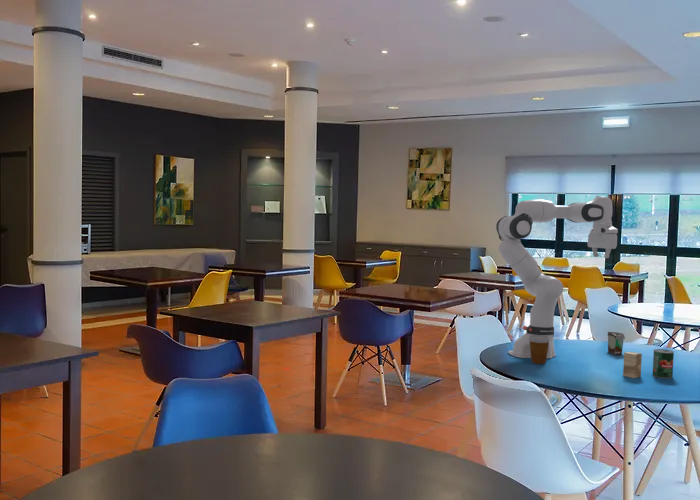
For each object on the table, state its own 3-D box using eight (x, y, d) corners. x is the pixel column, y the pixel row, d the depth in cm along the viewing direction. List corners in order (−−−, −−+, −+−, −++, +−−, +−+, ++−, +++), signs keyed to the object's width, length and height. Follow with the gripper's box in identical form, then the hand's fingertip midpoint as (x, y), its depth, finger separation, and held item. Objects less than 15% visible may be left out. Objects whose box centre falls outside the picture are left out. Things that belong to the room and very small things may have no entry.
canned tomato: (666, 379, 289) (667, 353, 289) (648, 375, 296) (649, 350, 295) (676, 377, 294) (677, 351, 294) (658, 373, 300) (659, 348, 300)
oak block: (633, 378, 290) (634, 354, 290) (623, 375, 294) (624, 352, 294) (640, 377, 293) (641, 353, 292) (630, 374, 297) (631, 351, 296)
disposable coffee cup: (550, 365, 312) (551, 338, 312) (528, 363, 314) (529, 337, 314) (548, 361, 322) (549, 335, 321) (527, 359, 323) (528, 334, 323)
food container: (628, 356, 339) (629, 335, 339) (615, 355, 340) (616, 335, 339) (619, 351, 352) (619, 331, 351) (606, 351, 352) (607, 331, 351)
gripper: (584, 228, 350) (583, 256, 351) (608, 229, 330) (607, 258, 331) (596, 229, 351) (594, 256, 352) (620, 229, 331) (618, 258, 332)
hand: (601, 257), depth 341 cm, fingers open, 8 cm apart
